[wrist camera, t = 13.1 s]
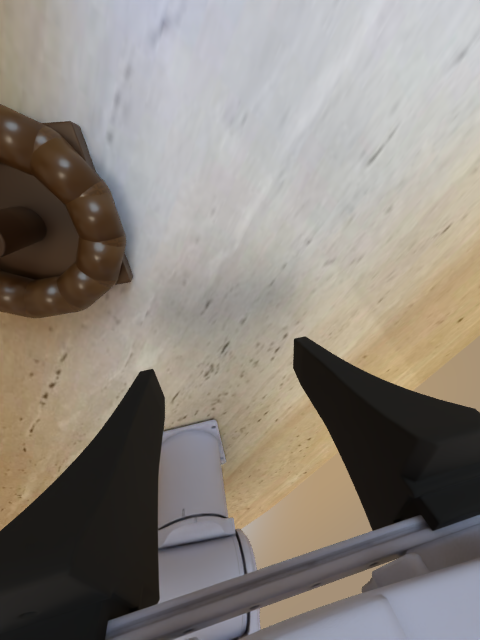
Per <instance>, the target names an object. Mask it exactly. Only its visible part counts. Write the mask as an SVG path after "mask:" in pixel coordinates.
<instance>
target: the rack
mask: <svg viewBox="0 0 480 640" xmlns="http://www.w3.org/2000/svg"><path fill="white" fill-rule="evenodd" d="M41 124H44V125H46V126H48V127H50V128H52V129H53V130H55V131H56V132H58V133H59V134H60V135H61V136H62V137H63V138H64V139H65V140H66V141H67V142H68V143H69V144H70V145H71V146H72V147H73V148H74V150H75V151H76V152H77V153H78V154H79V155H80V156H81V157H82V158H83V159H84V160H85V161H86V163H87V164H88V165H89V166H90V167H91V168H92V169H93V170H94V171H95V168H94V166H93V163H92V160H91V157H90V155H89V152H88V149H87V146H86V143H85V141H84V138H83V135H82V132H81V129H80V127H79V126H78V125H76V124H75V123H73V122H71V121H66V122H53V123H41ZM95 172H96V171H95ZM78 241H79V235H78V233H77V231H76V229H75V226H74V224H73V222H72V220H71V218H70V215H69V213H68V211H67V209H66V206H65V205H64V204H63V203H62V202H61V201H60V200H59V199H58V198H57V197H56V196H55V195H54V194H53V193H51V192H50V191H49V190H48V189H47V188H46V187H45V186H44V185H43V184H42V183H41V182H40V181H39V180H37V179H36V178H35V177H34V176H32V175H30V174H27V173H25V172H22V171H20V170H17V169H15V168H12V167H10V166H7V165H5V164H2V163H0V270H2V271H3V272H7V273H11V274H15V275H19V276H22V277H26V278H30V279H34V280H37V279H44V278H50V277H57V276H60V275H62V274H63V273H64V272H65V271H66V270H67V269H68V268H69V267H70V266H71V265H73V264H74V263H75V262H76V256H77V248H78ZM132 278H133V274H132V272H131V269H130V266H129V263H128V260H127V258H126V255H125V252H124V255H123V260H122V264H121V269H120V273H119V277H118V280H117V282H116V284H122V283H128V282H131V280H132ZM116 284H115V285H116Z"/></svg>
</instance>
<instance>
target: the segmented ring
mask: <svg viewBox="0 0 480 640" xmlns="http://www.w3.org/2000/svg"><path fill="white" fill-rule="evenodd" d="M0 163H2V164H5V165H7V166H10V167H12V168H15V169H17V170H20V171H22V172H25V173H27V174H30V175H32V176H34V177H35V178H36V179H37V180H39V181H40V182H41V183H42V184H43V185H44V186H45V187H46V188H47V189H48V190H49V191H50V192H51V193H53V194H54V195H55V196H56V197H57V198H58V199H59V200H60V201H61V202H62V203H63V204H64V205H65V206H66V209H67V211H68V213H69V215H70V218H71V220H72V222H73V224H74V226H75V229H76V231H77V233H78V235H79V241H78V248H77V256H76V262H75V263H74V264H73V265H71V266H70V267H69V268H68V269H67V270H66V271H65V272H64V273H63V274H62V275H60V276H57V277H50V278H44V279H37V280H34V279H30V278H26V277H22V276H19V275H15V274H11V273H7V272H3V271H2V270H0V311H1V312H6V313H10V314H15V315H20V316H24V317H29V318H44V317H49V316H55V315H61V314H66V313H72V312H78V311H82V310H84V309H86V308H88V307H89V306H91V305H92V304H93V303H94V302H95V301H96V300H98V299H99V298H100V297H101V296H102V295H103V294H105V293H106V292H107V291H108V290H109V289H110V288H112V287H113V286H114V285H115V284H116V282H117V280H118V277H119V273H120V269H121V264H122V260H123V255H124V251H125V246H126V236H125V233H124V230H123V227H122V224H121V221H120V218H119V215H118V212H117V209H116V206H115V203H114V200H113V198H112V195H111V192H110V190H109V188H108V186H107V185H106V183H105V182H104V181H103V180H102V179H101V178H100V177H99V175H98V174H97V173H96V172H95V171H94V170H93V169H92V168H91V167H90V166H89V165H88V164H87V163H86V161H85V160H84V159H83V158H82V157H81V156H80V155H79V154H78V153H77V152H76V151H75V150H74V148H73V147H72V146H71V145H70V144H69V143H68V142H67V141H66V140H65V139H64V138H63V137H62V136H61V135H60V134H59V133H58V132H56V131H55V130H53V129H52V128H50V127H48V126H46V125H44V124H41V123H39V122H37V121H35V120H33V119H31V118H29V117H27V116H25V115H22V114H20V113H18V112H16V111H14V110H12V109H10V108H8V107H5V106H3V105H1V104H0Z"/></svg>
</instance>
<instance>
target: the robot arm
mask: <svg viewBox="0 0 480 640" xmlns="http://www.w3.org/2000/svg"><path fill="white" fill-rule="evenodd" d="M293 369H294V371H295V373H296V375H297V378H298V380H299V382H300V384H301V386H302V388H303V389H304V391H305V393H306V394H307V396H308V397H309V399H310V401H311V402H312V404H313V406H314V407H315V409H316V410H317V412H318V414H319V415H320V417H321V418H322V420H323V422H324V423H325V425H326V427H327V429H328V431H329V433H330V435H331V437H332V439H333V441H334V443H335V445H336V447H337V449H338V451H339V453H340V455H341V457H342V460H343V462H344V464H345V466H346V468H347V470H348V473H349V475H350V477H351V479H352V482H353V484H354V486H355V489H356V491H357V493H358V496H359V498H360V500H361V503H362V505H363V508H364V510H365V513H366V515H367V517H368V520H369V522H370V525H371V528H372V530H373V531H371V532H368V533H366V534H362V535H359V536H357V537H354V538H351V539H348V540H345V541H342V542H339V543H336V544H333V545H330V546H327V547H324V548H321V549H318V550H315V551H312V552H309V553H306V554H304V555H301V556H298V557H295V558H292V559H289V560H286V561H283V562H280V563H277V564H274V565H271V566H268V567H265V568H262V569H260V570H257V568H256V562H255V558H254V554H253V550H252V547H251V544H250V541H249V539H248V538H247V536H246V535H245V534H244V533H243V531H242V530H241V529H235V525H234V519H233V518H228V511H227V504H226V497H225V489H224V482H223V475H222V468H221V464H224V463H225V462H226V458H225V454H224V450H223V445H222V441H221V437H220V433H219V429H218V425H217V421H216V420H209V421H205V422H201V423H197V424H193V425H189V426H184V427H180V428H176V429H172V430H168V431H164V432H163V430H164V420H165V397H164V395H163V392H162V390H161V387H160V385H159V382H158V380H157V377H156V375H155V372H154V370H153V369H150V370H146V371H141V372H140V373H139V374H138V376H137V377H136V379H135V380H134V382H133V384H132V385H131V387H130V388H129V390H128V392H127V393H126V395H125V396H124V398H123V399H122V401H121V402H120V404H119V405H118V407H117V408H116V410H115V411H114V413H113V414H112V415H111V417H110V418H109V419H108V421H107V422H106V423H105V425H104V426H103V428H102V429H101V430H100V431H99V433H98V434H97V435H96V436H95V438H94V439H93V440H92V441H91V443H90V444H89V445H88V446H87V447H86V448H85V450H84V451H83V452H82V453H81V454H80V455H79V456H78V457H77V458H76V460H75V461H74V462H73V463H72V464H71V465H70V466H69V467H68V468H67V469H66V470H65V471H64V472H63V473H62V474H61V475H60V476H59V477H58V478H57V479H56V480H55V481H54V482H53V483H52V484H51V485H50V486H49V487H48V488H47V489H46V490H45V491H44V492H43V493H42V494H41V495H40V496H39V497H38V498H37V499H36V500H35V501H34V502H33V503H31V504H30V505H29V506H28V507H27V508H26V509H25V510H24V511H23V512H22V513H21V514H19V515H18V516H17V517H16V518H15V519H14V520H13V521H11V522H10V523H9V524H8V525H7V526H6V527H4V528H3V529H2V530H1V531H0V640H480V413H479V412H478V411H477V410H476V409H473V408H470V407H465V406H462V405H458V404H454V403H450V402H446V401H443V400H439V399H436V398H433V397H429V396H426V395H423V394H420V393H417V392H414V391H411V390H408V389H405V388H403V387H400V386H397V385H395V384H392V383H390V382H387V381H385V380H382V379H380V378H378V377H376V376H374V375H371V374H369V373H367V372H365V371H363V370H361V369H359V368H357V367H355V366H353V365H351V364H350V363H348V362H346V361H344V360H342V359H341V358H339V357H337V356H336V355H334V354H332V353H331V352H329V351H327V350H326V349H324V348H323V347H321V346H320V345H318V344H316V343H315V342H313V341H312V340H310V339H308V338H307V337H300V338H296V339H294V359H293ZM397 558H398V559H397ZM395 559H396V560H395ZM392 560H394V561H392ZM389 561H392V562H390V563H388V564H386V565H384V566H382V567H380V568H378V569H376V570H375V571H373V572H372V578H371V580H370V581H369V582H368V583H367V584H365V585H364V586H363V587H362V593H361V594H358V595H355V596H352V597H348V598H345V599H342V600H339V601H336V602H333V603H331V604H328V605H325V606H322V607H319V608H316V609H313V610H311V611H308V612H306V613H303V614H300V615H298V616H295V617H292V618H289V619H287V620H284V621H282V622H279V623H277V624H274V625H272V626H269V627H267V628H264V629H262V630H260V618H259V617H260V616H259V614H260V608H262V607H264V606H267V605H270V604H273V603H276V602H278V601H281V600H284V599H287V598H289V597H292V596H295V595H298V594H300V593H303V592H306V591H309V590H312V589H314V588H317V587H320V586H323V585H325V584H328V583H331V582H334V581H336V580H339V579H342V578H345V577H347V576H350V575H353V574H356V573H359V572H361V571H364V570H367V569H369V568H372V567H375V566H378V565H381V564H384V563H386V562H389Z"/></svg>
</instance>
